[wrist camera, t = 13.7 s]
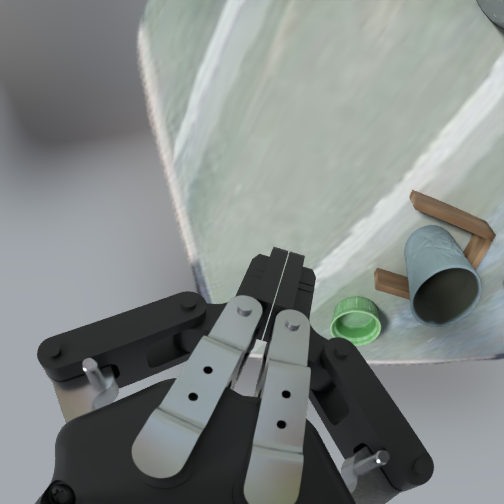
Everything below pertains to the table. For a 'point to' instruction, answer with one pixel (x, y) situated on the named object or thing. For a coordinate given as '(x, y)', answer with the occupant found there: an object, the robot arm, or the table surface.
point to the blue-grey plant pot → (439, 278)
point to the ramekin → (356, 321)
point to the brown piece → (452, 215)
